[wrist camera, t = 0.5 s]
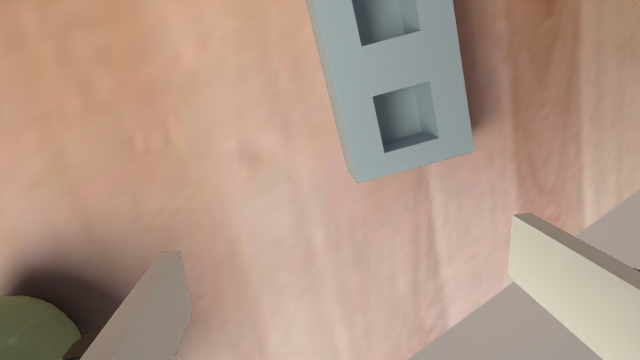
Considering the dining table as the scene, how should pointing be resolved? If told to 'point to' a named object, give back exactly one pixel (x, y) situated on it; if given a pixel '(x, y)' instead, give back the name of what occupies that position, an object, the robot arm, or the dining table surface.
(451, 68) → the socket block
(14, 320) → the cabbage
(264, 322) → the dining table surface
